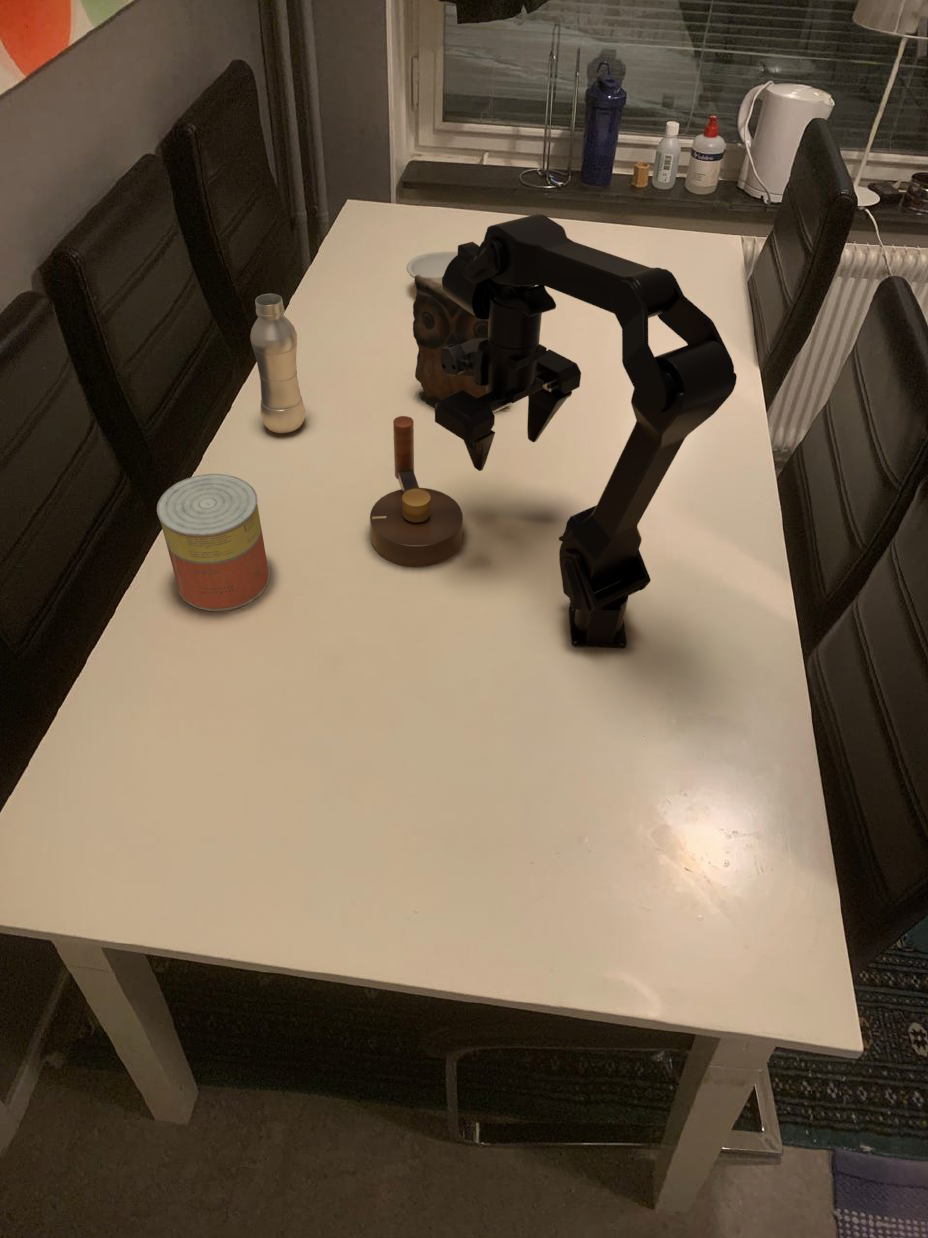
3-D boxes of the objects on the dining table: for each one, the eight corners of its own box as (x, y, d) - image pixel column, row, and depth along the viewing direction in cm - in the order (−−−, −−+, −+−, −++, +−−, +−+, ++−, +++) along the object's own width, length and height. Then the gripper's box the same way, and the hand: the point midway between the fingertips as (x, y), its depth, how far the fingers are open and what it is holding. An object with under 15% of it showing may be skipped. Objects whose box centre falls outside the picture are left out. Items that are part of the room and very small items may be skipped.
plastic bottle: (253, 431, 136) (233, 304, 122) (280, 409, 141) (264, 284, 126) (289, 443, 134) (273, 315, 120) (315, 421, 139) (302, 295, 124)
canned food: (284, 559, 116) (273, 483, 108) (246, 619, 109) (230, 543, 100) (203, 542, 118) (186, 466, 110) (160, 600, 111) (138, 523, 102)
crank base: (460, 568, 116) (461, 547, 114) (366, 565, 116) (365, 543, 114) (463, 509, 125) (464, 488, 122) (375, 506, 125) (374, 484, 122)
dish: (400, 308, 165) (399, 281, 161) (414, 273, 175) (414, 247, 171) (496, 317, 163) (498, 290, 160) (505, 281, 173) (507, 255, 170)
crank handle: (433, 520, 117) (433, 464, 111) (405, 524, 116) (404, 467, 110) (415, 469, 124) (415, 414, 118) (389, 472, 124) (387, 417, 117)
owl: (511, 410, 142) (521, 287, 128) (438, 428, 138) (439, 303, 124) (475, 371, 150) (480, 251, 136) (404, 387, 146) (402, 265, 132)
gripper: (521, 286, 109) (513, 400, 120) (401, 335, 100) (404, 454, 111) (591, 320, 103) (575, 437, 115) (470, 375, 94) (466, 496, 105)
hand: (505, 454), depth 111 cm, fingers open, 9 cm apart
